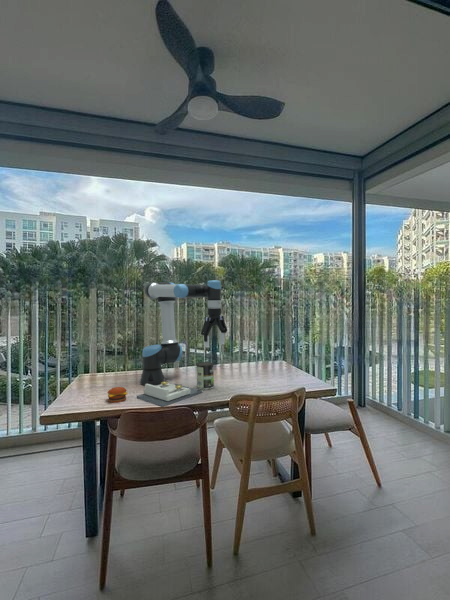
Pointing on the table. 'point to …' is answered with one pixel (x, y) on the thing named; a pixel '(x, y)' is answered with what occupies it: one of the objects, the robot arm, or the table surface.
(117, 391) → the hamburger
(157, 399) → the base
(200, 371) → the coffee can
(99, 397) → the table surface
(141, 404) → the table surface
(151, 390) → the panel
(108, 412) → the table surface
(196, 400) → the table surface
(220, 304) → the robot arm
